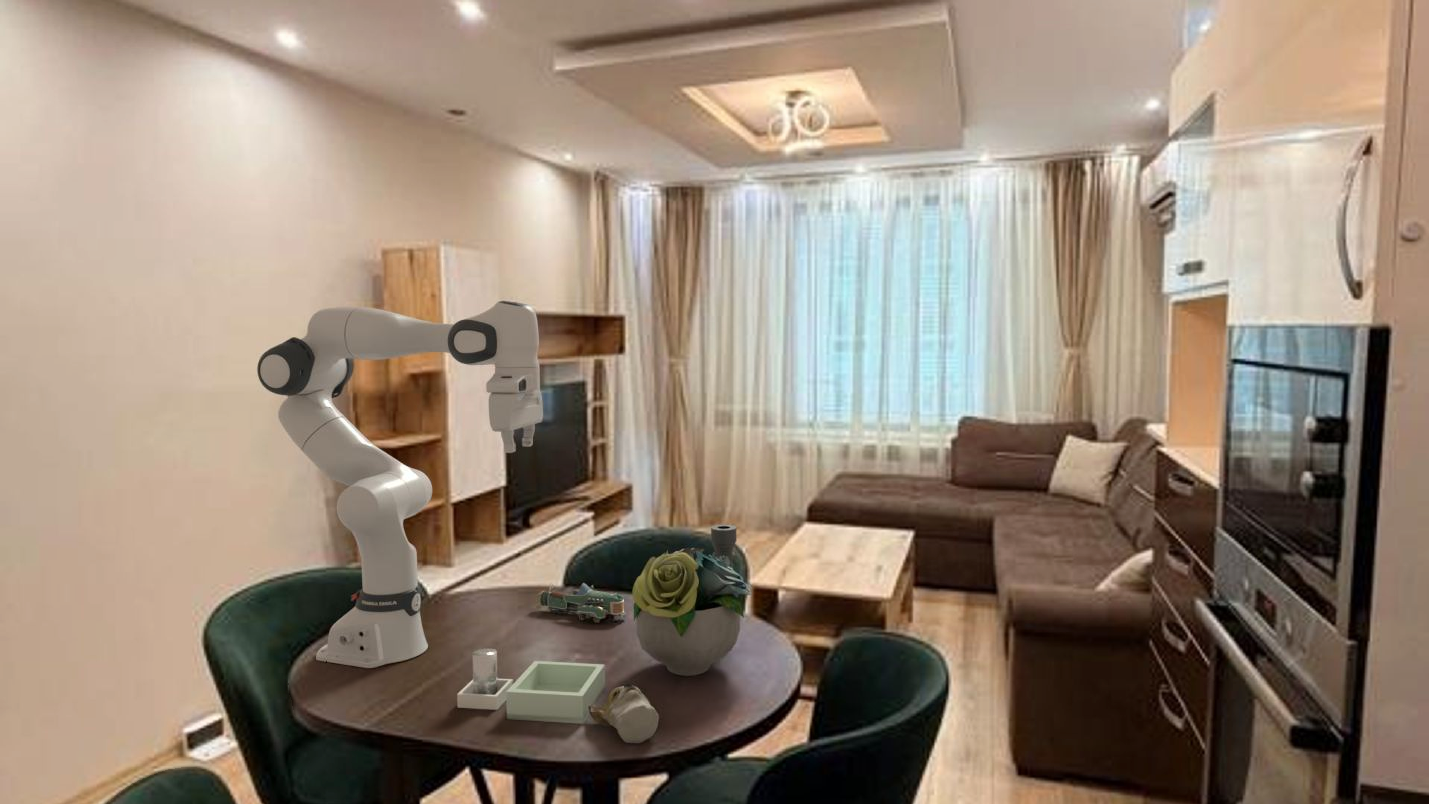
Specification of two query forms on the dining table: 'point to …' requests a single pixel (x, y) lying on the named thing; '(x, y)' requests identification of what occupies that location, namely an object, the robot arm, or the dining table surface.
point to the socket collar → (483, 696)
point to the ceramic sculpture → (628, 714)
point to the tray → (556, 692)
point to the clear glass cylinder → (485, 672)
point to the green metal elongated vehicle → (584, 603)
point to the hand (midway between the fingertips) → (519, 449)
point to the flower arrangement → (688, 609)
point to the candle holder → (724, 541)
